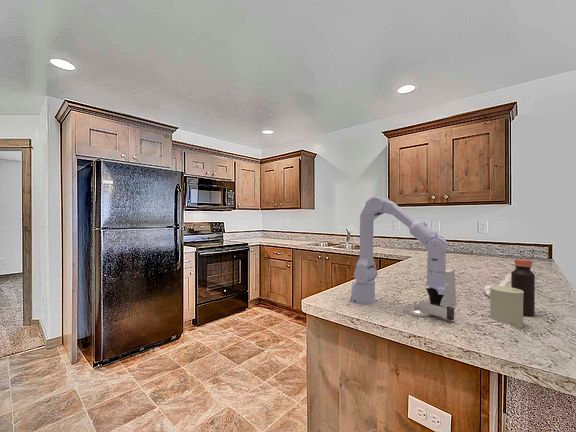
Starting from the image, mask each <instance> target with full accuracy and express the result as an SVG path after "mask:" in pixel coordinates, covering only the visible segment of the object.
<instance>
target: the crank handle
mask: <svg viewBox="0 0 576 432" xmlns="http://www.w3.org/2000/svg"><path fill="white" fill-rule="evenodd" d="M403 310H404V311H403V312H405V313H406V314H408V315H410V316H413V317H418V318H419V317H420V318H429V317H432V316H435V317H436V316H437V317H439V318H444V319H446V320H448V321H455V307H453V306H445V305H441V304H440V305H437V304H433V303H430V301H429V302H428V301H425V300H420V301H414V303H413V305H411V304H410V305H405V306H404V309H403Z"/></svg>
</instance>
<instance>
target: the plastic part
mask: <svg viewBox="0 0 576 432" xmlns="http://www.w3.org/2000/svg"><path fill="white" fill-rule="evenodd" d="M511 273H512V272H511ZM511 273H510V272H509V271H508V272H507V273H506V274H505V276H504V279H502V280H501V281H500V283H499V284H498V285H497V286H504V287H509V284H511ZM490 287H492V286H491V285H486V286H484V287H483V288H482V292H483V294H484V295H485V296H487V297H488V298H490Z"/></svg>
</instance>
